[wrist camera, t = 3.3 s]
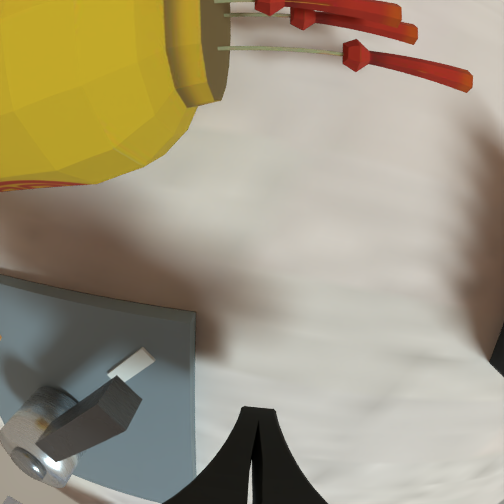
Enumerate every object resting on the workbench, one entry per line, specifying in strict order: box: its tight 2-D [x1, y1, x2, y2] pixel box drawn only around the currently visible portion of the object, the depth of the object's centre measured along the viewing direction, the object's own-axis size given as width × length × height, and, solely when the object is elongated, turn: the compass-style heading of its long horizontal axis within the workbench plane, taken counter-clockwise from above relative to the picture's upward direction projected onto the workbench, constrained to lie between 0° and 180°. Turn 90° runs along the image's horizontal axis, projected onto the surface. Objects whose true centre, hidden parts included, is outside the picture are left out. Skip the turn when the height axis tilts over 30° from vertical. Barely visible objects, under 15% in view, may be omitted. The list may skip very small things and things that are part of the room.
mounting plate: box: [0, 274, 196, 503], centre depth 17 cm, size 18×18×1 cm
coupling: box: [0, 375, 142, 488], centre depth 13 cm, size 12×5×5 cm, turn 129°
